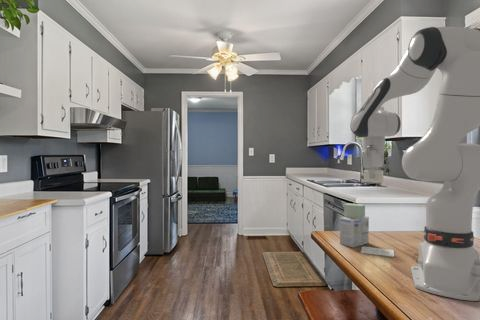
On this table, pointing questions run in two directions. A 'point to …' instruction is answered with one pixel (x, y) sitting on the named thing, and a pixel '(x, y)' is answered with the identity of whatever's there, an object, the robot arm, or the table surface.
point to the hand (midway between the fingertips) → (373, 178)
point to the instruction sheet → (377, 251)
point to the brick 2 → (377, 176)
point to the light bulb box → (354, 231)
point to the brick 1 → (354, 210)
